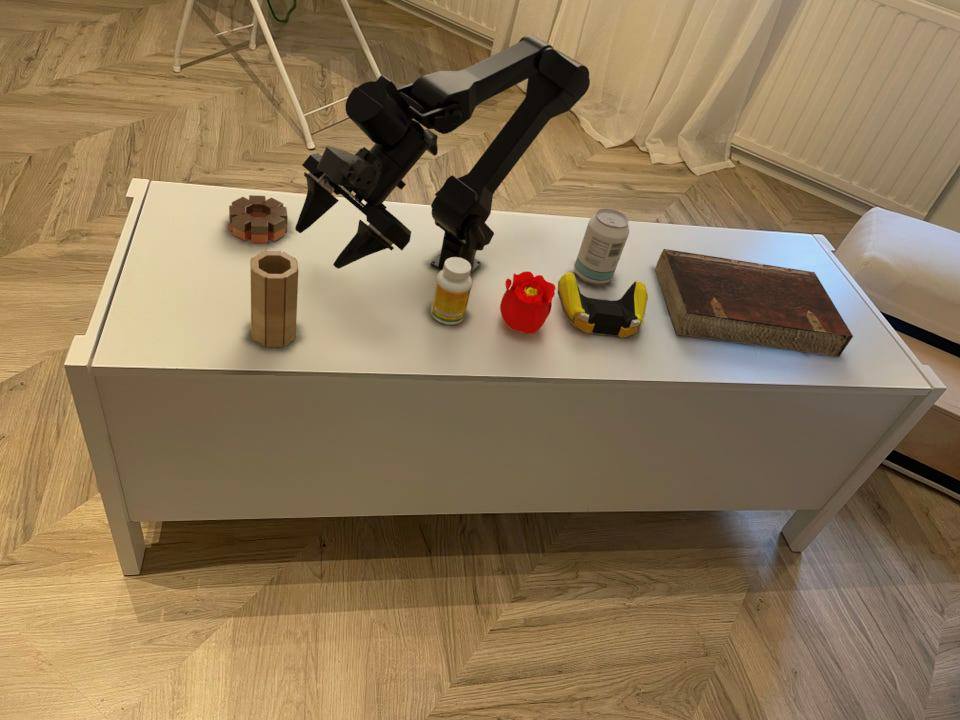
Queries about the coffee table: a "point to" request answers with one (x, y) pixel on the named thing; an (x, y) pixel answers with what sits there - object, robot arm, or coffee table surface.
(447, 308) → the supplement bottle
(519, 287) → the flower
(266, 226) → the ring stack
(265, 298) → the tall ring
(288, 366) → the coffee table surface
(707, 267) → the book
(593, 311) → the gaming controller
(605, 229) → the beverage can
